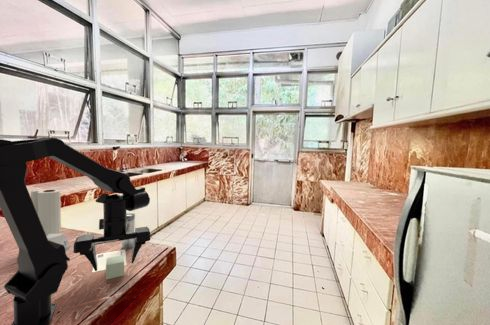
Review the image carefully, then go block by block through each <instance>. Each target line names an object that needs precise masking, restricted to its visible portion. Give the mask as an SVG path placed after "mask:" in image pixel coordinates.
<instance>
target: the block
mask: <svg viewBox="0 0 490 325" xmlns="http://www.w3.org/2000/svg"><path fill="white" fill-rule="evenodd" d="M122 276H125V266H124V255H121V256H115V257H110V258H107V260H106V270H105V280H109V279H115V278H119V277H122Z"/></svg>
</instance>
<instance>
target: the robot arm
mask: <svg viewBox="0 0 490 325" xmlns="http://www.w3.org/2000/svg"><path fill="white" fill-rule="evenodd" d="M46 158H49V159H51V160H52V161H53V160H54V161H55V162H58V163H59V164H60V165H61V164H62V165H64V166H65V167H67V168H69V169H71V170H73V171H75V172H77V173H79V174H80V175H83V176H85V177H87V178H89V179H90V180H91V181H92V182H93V184H94V185H95V186H97V188H99V189H100V190H102V191H104V192H108V193H114V194H108V193H104V192H103V193H102V194H100V195H99V197H97V198H96V199H95V201H94V202H96V203H99V204H102V205H103V218H99V221H98V230H101V231H102V230H103V236H95V237H94V235H95V234H94V233H89V234H81V235H79V236H77V237H76V239H75V241H74V243H73V254H79V255H80V256H85V258H86V259H87V260H88V261H89V263H90V265H91V266H92V269H93V268H94V270H95V271H97V258H96V254H97V252H96V245H101V244H109V243H116V242H120V241H121V242H122V240H128V239H134V244H133V248H132V253H131V264H134V262H135V259H136V257H137V255H138V253H139V251H140V250H141V247H142V246H143V245H146V244H147V243H146V242H150V241H151V231H150V228H149V227H148V226H141V227H136V228H135V227H134V232H131V233H126V214H127V211H129V212H132V211H133V212H134V211H136V210H140V209H143V208H146V207H148V206H149V205H150V201H151V197H150V196H149V194H148V192H147V191H146V187H143V186H142V187H141V186H140V187H135V186H134V184H133V183H132V182H131V177H130V176H129V175H128V174H126V173H124V172H121V171H118V170H114V169H112V168H108V167H105V166H104V165H102V164H100V163H99V162H97V161H95V160H94V159H92V158H91V157H89V156H87V155H85V154H84V153H83V152H81V151H79V150H77V149H75V148H74V147H72V146H70V145H68V144H67V143H65V142H64V141H63V140H62V139H60V138H58V137H48V136H44V137H40V138H34V139H32V138H31V139H21V140H9V139H0V211H1V212H2V215H3V217H4V219H5V221H6V223H7V225H8V226H7V227H8V228H9V230H10V232H11V234H12V236H13V239H14V241H15V244H16V245H17V247H18V256H17V267H18V270H17V271H16V272H15V273H14V274H13V275H12V277H11V278H10V279H9V280H8V281H7V282H6V283H5V284H4V285H3V288H4V290H5V291H6V292H7V293H8V294H9V295H12V296H14V297H13V298H12V299H13V321H12V322H11V325H49V324H50V323H51V321H52V318H53V315H54V313H55V311H56V308H57V303H56V302H55V303H52V295H54V294H55V293H57V292H58V290H59V288H60V285H61V282H62V279H63V277H64V275H65V273H66V271H68V268H69V264H68V262H69V261H70V260H71V259H70V258H69V257H68V255H67V251H66V252H65V247H64V245H61V244H58V243H55V242H52V241H49V240H48V239H47V236H46V234H45V231H44V229H43V227H42V224H41V222H40V219H39V217H38V214H37V212H36V209H35V207H34V204H33V202H32V199H31V193H30V192H29V189H28V188H27V185H26V176H27V171H28V165H27V163H29V162H34V161H38V160H41V159H46ZM121 194H122V195H121ZM97 272H98V271H97Z"/></svg>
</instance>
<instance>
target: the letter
mask: <svg viewBox="0 0 490 325" xmlns="http://www.w3.org/2000/svg"><path fill="white" fill-rule="evenodd" d="M126 252H127V251H126V249H120V250H114V251H113V250H112V251H108V252H103V253H102V252H101V253H99V254H97V253H96V258H97V271H95V270H94V268H93V267H92V271H91V274H92V273H97V272H101V271H106V260H107V258H110V257H115V256H121V255H124V267H125V266H127V255H126Z"/></svg>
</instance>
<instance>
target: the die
mask: <svg viewBox="0 0 490 325" xmlns="http://www.w3.org/2000/svg"><path fill="white" fill-rule="evenodd" d="M67 238H68V237H67V236H66V234H64V233H61V234H48V235H47V239H48V240H49V241H52V242H55V243H58V244H61V245H64V247H65V252H66V253H67V251H69V250H70V248H72V245H71V244H70V241H69V240H68V239H67Z"/></svg>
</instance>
